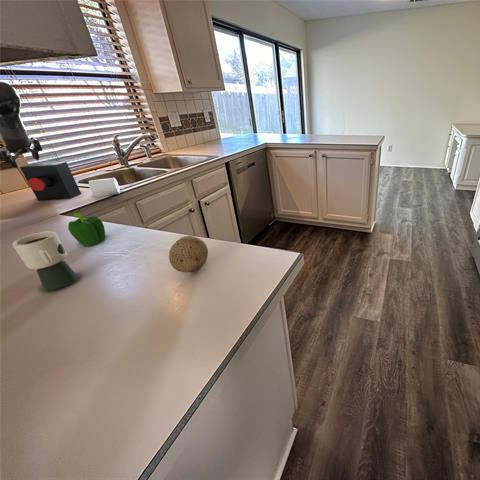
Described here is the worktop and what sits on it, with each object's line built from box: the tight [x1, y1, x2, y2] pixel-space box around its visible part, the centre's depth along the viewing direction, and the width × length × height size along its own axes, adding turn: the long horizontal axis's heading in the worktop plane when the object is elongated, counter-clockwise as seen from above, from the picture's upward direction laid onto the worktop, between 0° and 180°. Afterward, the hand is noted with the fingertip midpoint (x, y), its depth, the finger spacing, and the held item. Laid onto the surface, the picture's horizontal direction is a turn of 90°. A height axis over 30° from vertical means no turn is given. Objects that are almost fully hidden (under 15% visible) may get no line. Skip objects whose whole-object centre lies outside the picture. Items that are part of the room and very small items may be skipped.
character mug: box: [12, 230, 78, 291], centre depth 62 cm, size 11×7×13 cm, turn 51°
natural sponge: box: [168, 235, 209, 274], centre depth 66 cm, size 9×9×10 cm
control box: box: [19, 161, 82, 202], centre depth 126 cm, size 8×14×16 cm, turn 101°
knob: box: [27, 177, 51, 191], centre depth 120 cm, size 6×6×6 cm
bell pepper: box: [67, 212, 106, 247], centre depth 82 cm, size 8×8×10 cm
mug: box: [88, 177, 121, 198], centre depth 130 cm, size 12×10×8 cm
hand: (25, 162), depth 118 cm, fingers open, 8 cm apart
